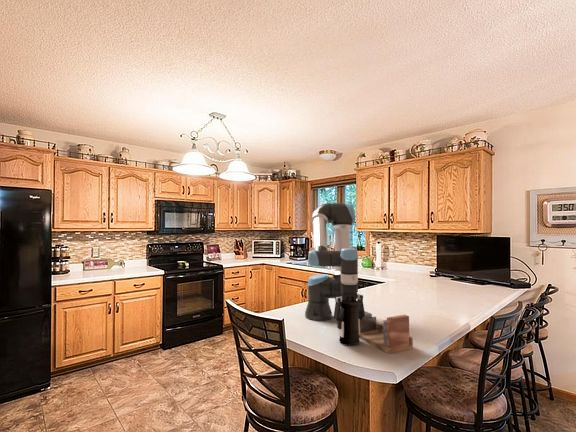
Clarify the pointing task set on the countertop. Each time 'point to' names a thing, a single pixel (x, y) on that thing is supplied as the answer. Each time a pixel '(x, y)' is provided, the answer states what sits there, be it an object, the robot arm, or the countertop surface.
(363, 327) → the bookend
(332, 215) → the robot arm
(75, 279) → the countertop surface
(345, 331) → the container
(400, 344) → the rack
